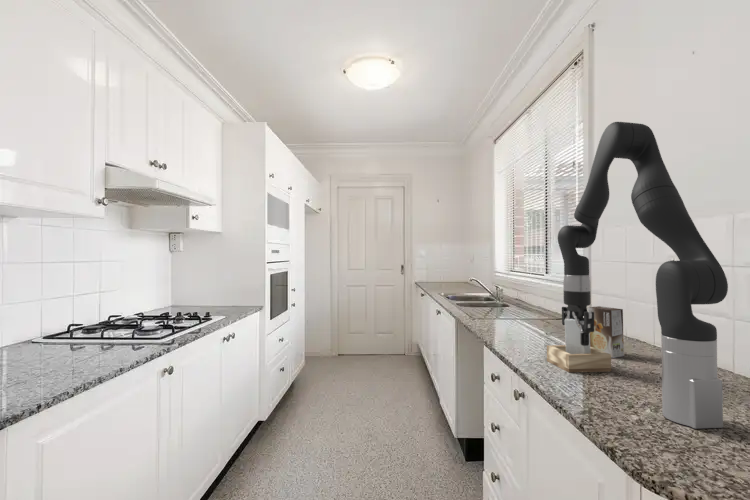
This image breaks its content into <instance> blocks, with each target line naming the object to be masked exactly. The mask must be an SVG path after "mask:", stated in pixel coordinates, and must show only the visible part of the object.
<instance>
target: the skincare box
mask: <svg viewBox="0 0 750 500" xmlns="http://www.w3.org/2000/svg"><path fill="white" fill-rule="evenodd" d="M564 321H565V325H564V336H565V337H564V338H565V339H564V340H565V345H566V352H567V353H570V354H591V349H590V333H589V345H588V346H583V345H581V331H580V328H579V326H577V324H576V321H575V320H574V319H566V318H565V320H564ZM580 322H583V323H584V321H580ZM589 328H590V327H589ZM583 329H584V325H583Z"/></svg>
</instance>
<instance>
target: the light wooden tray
mask: <svg viewBox="0 0 750 500" xmlns="http://www.w3.org/2000/svg"><path fill="white" fill-rule="evenodd" d="M590 349H591V354H570V353H567V352H566V344H562V345H559V344H555V345H553V344H552V345H551V344H550V345H546V362H548V363H550V364H552V365H554V366H556V367H558V368H559V369H561V370H563V371H565V372H567V373H594V372H595V373H598V372H604V373H605V372H612V358H611V354H609V353H606V352H603V351H601V350H598V349H595V348H593V347H590Z"/></svg>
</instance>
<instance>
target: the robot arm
mask: <svg viewBox="0 0 750 500" xmlns="http://www.w3.org/2000/svg"><path fill="white" fill-rule="evenodd" d="M615 159H624V160H629V161H631V162H632V163H633V166H634V167H635V170H636V172H637V177H636V180H635V182H634V184H633V187H632V190H631V195H630V196H631V203H632V205H633V208H634V210H635V211H634V212H635V213H636V216H637V218H638V220H639V222H640V223H641V225H643V227H645V228H646V229H647V230H648V231H649V232H650V233H652V234H653V235H654V236H655V237H657V238H658V239H659V240H660V241H662V242H663V243H665V245H667V246H668V247H669V248H670V249H671V250H672V251H673V252H674V253H675V255H676V257H677V259H678V260H668V261H665V262H663V263H662V264H660V266H659V268H658V270H657V272H656V274H655V295H656V307H657V319H658V322H659V325H660V330H661V331H660V333H661V334H660V335H661V336H660V338H661V395H662V396H661V398H662V403H661V404H662V407H661V408H662V410H661V411H662V413H661V414H662V415H663V417H664V418H665V419H668V420H669V421H672V422H674V423H677V424H680V425H684V426H687V427H691V428H693V429H717V428H718V429H719V428H724V417H723V416H724V413H723V412H724V408H723V405H724V404H723V402H724V401H723V380H722V379H721V378H718V331H717V327H716V326H715V325H714V324H712V323H710V322H706V321H704V320H701V319H699V318H698V317H697V316H695V315H694V313H693V310H692V309H693V308H692V305H715V304H718V303H721V302H723V301H724V299H726V296H727V295H728V290H729V283H728V278H727V276H726V273H725V271H724V269H723V267H722V266H721V264H720V263H719V260H718V259H717V258H716V256H715V255H714V254H713V251H712V250H711V249H710V248H709V246H708V244H707V243H706V242H705V240H704V239H703V237H702V235H701V234H700V232H699V230H698V229H697V227H696V225H695V223H694V222H693V219H692V218H691V216H690V214H689V212H688V210H687V208H686V206H685V204H684V201H683V198H682V197H681V195H680V193H679V191H678V189H677V187H676V185H675V184H674V182H673V180H672V178H671V175H670V173H669V171H668V169H667V167H666V165H665V163H664V160H663V158H662V155H661V151H660V148H659V145H658V141H657V139H656V137H655V134H654V131H653V130H652V129H651V128H650V126H648V125H647V124H644V123H638V122H627V121H626V122H625V121H613V122H611V123H610V124H609V125H608V126H607V127H605V129H604V131H603V133H602V134H601V137H600V138H599V142H598V146H597V148H596V152H595V155H594V158H593V162H592V165H591V168H590V173H589V177H588V180H587V182H586V186H585V188H584V191H583V193H582V195H581V197H580V200H579V202H578V204H577V205H576V208H575V210H574V213H573V217H574V219H575V220H576V221H577V222H578V223H581V224H580V225H564V226H562V227H561V228H560V229H559V231H558V234H557V243H558V247H559V249H560V253H561V257H562V260H563V273H564V275H563V282H562V283H563V286H562V287H563V304H564V305H566V306H562V307H561V325H562V326H565V321H564V320H565V319H574V320H575V321H576V324H577V326H579V328H580V331H581V345H583V346H588V345H589V333H590V332H594V312H588V308H587V307H588V306H591V303H592V301H591V279H590V260H589V258H588V257H587V256H584V255H580V254H579V253H578V250H577V249H587V248H589V247H591V246H592V245H593V244H594V243H595V241H596V239H597V233H598V227H599V222H600V218H601V217H602V215H603V213H604V211H605V209H606V207H607V206H608V203H609V200H610V185H609V181H608V180H609V179H608V177H609V176H608V175H609V169H610V166H611V165H612V162H613V161H614V160H615ZM580 321H584V323H583V322H580ZM589 324H590V328H589ZM583 325H584V329H583Z"/></svg>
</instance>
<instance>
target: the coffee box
mask: <svg viewBox="0 0 750 500" xmlns="http://www.w3.org/2000/svg"><path fill="white" fill-rule="evenodd" d="M587 311H588V312H594V332H590V347H593V348H595V349H598V350H601V351H603V352H606V353H609V354H611V359H613V358H614V359H615V358H621V357H624V356H625V352H624V351H625V350H624V349H625V347H624V342H625V341H624V309H623V308H614V307H608V306H607V307H606V306H600V305H599V306H591V307H588V308H587ZM589 327H590V324H589Z"/></svg>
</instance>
